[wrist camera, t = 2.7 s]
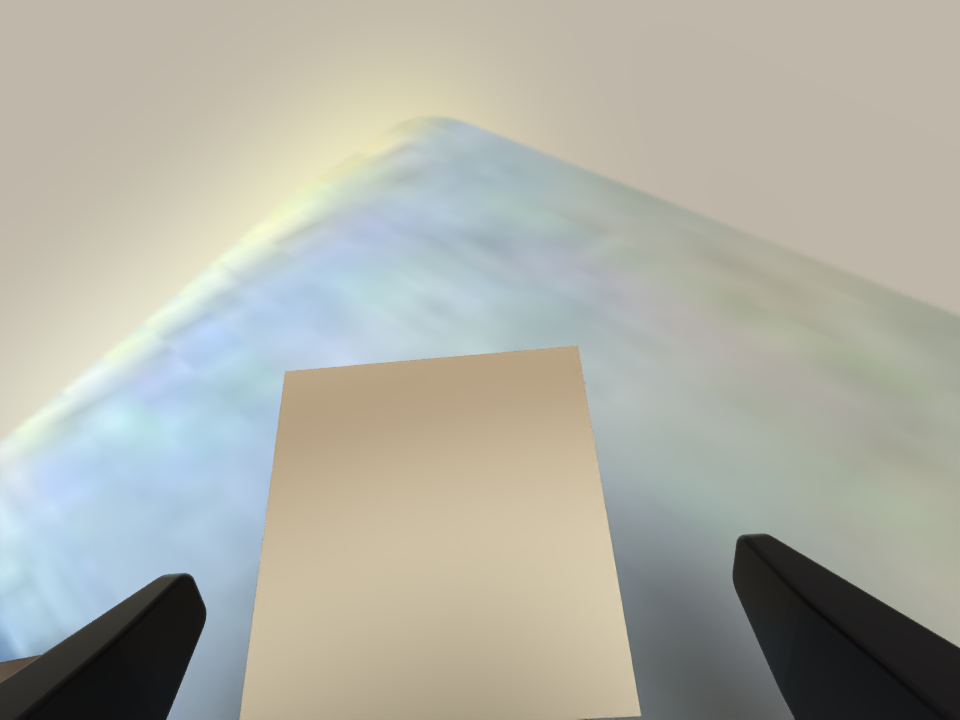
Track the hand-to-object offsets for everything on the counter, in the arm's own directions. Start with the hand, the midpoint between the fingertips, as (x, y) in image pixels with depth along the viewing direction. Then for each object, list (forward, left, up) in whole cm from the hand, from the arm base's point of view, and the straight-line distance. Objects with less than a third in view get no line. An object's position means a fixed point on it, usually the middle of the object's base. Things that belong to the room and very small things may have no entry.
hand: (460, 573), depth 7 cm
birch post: (+1, 0, -8) cm, 8 cm away
